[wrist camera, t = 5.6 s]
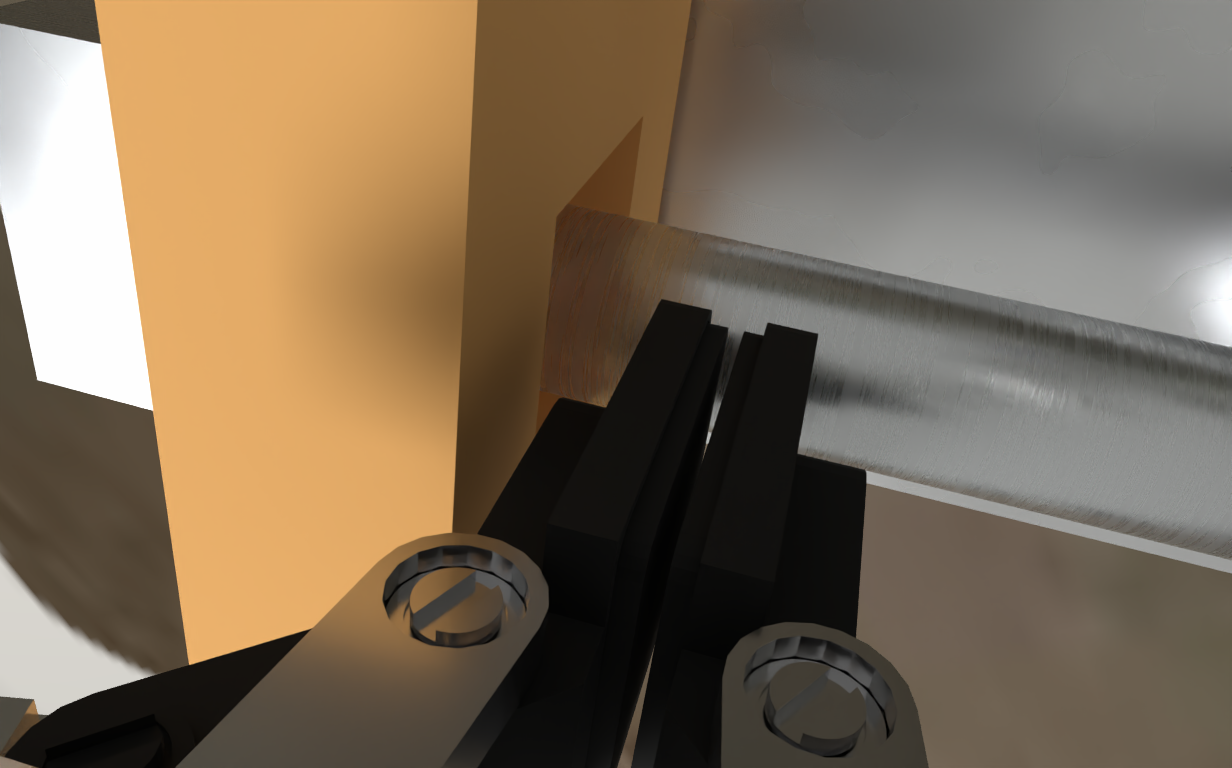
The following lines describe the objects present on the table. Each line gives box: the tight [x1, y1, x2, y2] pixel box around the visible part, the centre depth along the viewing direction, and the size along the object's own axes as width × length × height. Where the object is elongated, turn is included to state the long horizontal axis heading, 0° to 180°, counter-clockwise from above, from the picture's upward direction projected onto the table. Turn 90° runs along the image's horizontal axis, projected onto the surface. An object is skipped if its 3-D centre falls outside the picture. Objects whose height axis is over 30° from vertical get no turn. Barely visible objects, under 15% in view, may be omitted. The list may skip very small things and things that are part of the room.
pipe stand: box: [0, 0, 1232, 573], centre depth 15 cm, size 21×10×8 cm, turn 83°
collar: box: [95, 0, 692, 665], centre depth 13 cm, size 3×9×9 cm, turn 173°
